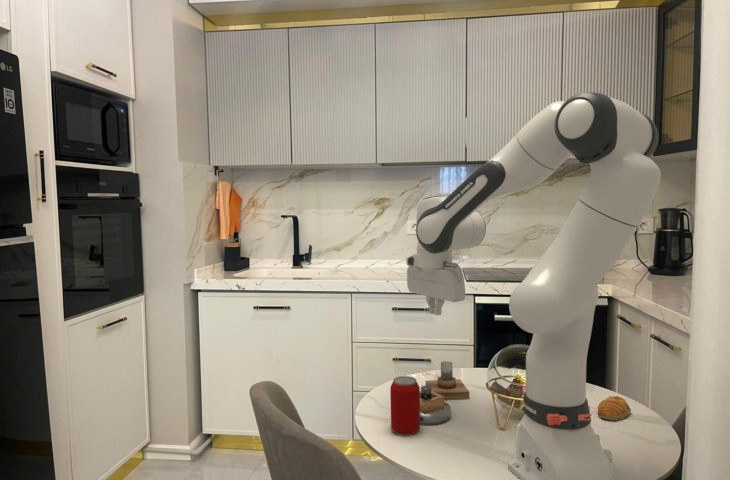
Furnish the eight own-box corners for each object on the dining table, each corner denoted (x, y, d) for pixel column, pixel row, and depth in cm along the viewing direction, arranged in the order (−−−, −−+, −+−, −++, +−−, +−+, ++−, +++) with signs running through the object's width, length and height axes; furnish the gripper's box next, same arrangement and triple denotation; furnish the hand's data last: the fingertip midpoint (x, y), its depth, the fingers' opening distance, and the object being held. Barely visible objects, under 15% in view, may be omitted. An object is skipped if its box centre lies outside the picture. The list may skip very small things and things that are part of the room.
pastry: (620, 425, 118) (620, 409, 118) (590, 418, 122) (590, 402, 122) (632, 413, 125) (632, 398, 124) (603, 406, 129) (603, 392, 129)
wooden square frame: (444, 408, 124) (444, 396, 124) (424, 414, 120) (424, 402, 120) (427, 400, 129) (427, 389, 129) (408, 406, 126) (407, 394, 125)
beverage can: (419, 424, 120) (419, 375, 119) (420, 437, 113) (419, 385, 112) (391, 423, 120) (390, 374, 119) (390, 436, 114) (389, 384, 113)
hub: (460, 417, 123) (460, 389, 123) (423, 429, 117) (423, 400, 116) (428, 402, 133) (428, 376, 133) (392, 412, 127) (392, 385, 126)
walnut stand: (469, 399, 135) (469, 368, 134) (432, 400, 134) (432, 369, 134) (459, 385, 145) (459, 357, 144) (425, 387, 144) (425, 358, 144)
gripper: (471, 262, 119) (472, 319, 120) (421, 256, 137) (422, 306, 138) (450, 264, 116) (451, 323, 117) (402, 258, 134) (403, 309, 135)
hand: (435, 314), depth 128 cm, fingers closed
